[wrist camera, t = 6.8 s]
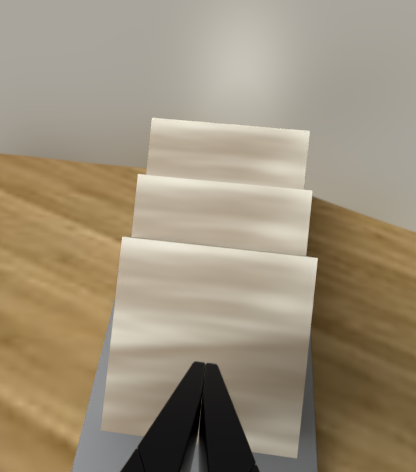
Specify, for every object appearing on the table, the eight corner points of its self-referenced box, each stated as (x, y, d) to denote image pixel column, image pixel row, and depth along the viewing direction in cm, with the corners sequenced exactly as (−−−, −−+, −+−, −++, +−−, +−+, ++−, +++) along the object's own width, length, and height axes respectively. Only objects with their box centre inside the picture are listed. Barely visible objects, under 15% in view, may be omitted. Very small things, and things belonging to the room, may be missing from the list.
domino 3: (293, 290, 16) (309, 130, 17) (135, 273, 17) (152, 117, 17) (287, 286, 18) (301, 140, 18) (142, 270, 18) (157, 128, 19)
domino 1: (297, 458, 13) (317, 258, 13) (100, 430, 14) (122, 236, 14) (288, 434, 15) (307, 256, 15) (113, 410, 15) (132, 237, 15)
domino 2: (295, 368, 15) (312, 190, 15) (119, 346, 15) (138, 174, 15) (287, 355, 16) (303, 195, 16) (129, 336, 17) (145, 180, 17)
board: (312, 510, 14) (319, 520, 13) (76, 476, 15) (68, 484, 14) (301, 238, 21) (305, 233, 20) (138, 222, 21) (135, 216, 20)
